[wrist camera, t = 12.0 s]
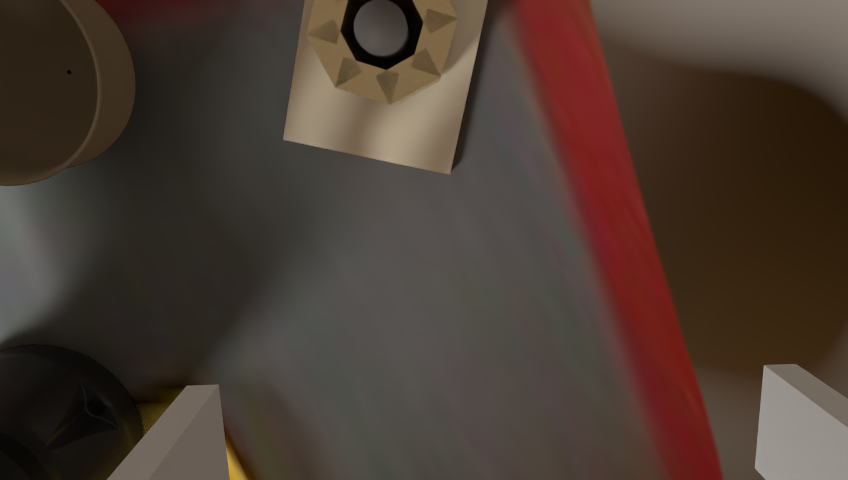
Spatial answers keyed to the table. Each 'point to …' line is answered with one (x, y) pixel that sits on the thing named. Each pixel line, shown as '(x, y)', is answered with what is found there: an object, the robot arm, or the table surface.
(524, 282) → the table surface
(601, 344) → the table surface
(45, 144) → the bowl
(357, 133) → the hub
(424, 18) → the collar
